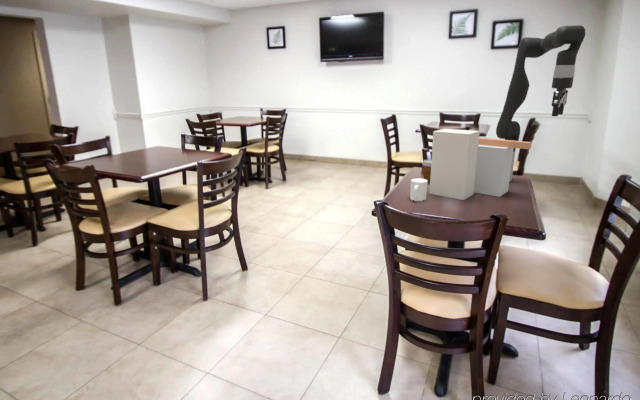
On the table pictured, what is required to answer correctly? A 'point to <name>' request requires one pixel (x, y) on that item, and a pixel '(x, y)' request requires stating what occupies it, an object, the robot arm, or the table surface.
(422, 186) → the mug
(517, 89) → the robot arm
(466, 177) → the stepped stand
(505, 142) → the terracotta bar
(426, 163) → the disposable coffee cup
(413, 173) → the table surface
